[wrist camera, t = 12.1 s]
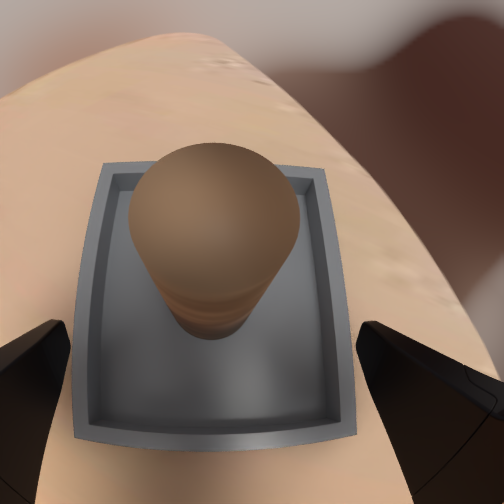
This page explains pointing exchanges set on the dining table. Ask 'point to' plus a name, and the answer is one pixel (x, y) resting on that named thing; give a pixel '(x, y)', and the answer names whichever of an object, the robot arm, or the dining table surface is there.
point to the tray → (211, 342)
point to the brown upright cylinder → (213, 233)
